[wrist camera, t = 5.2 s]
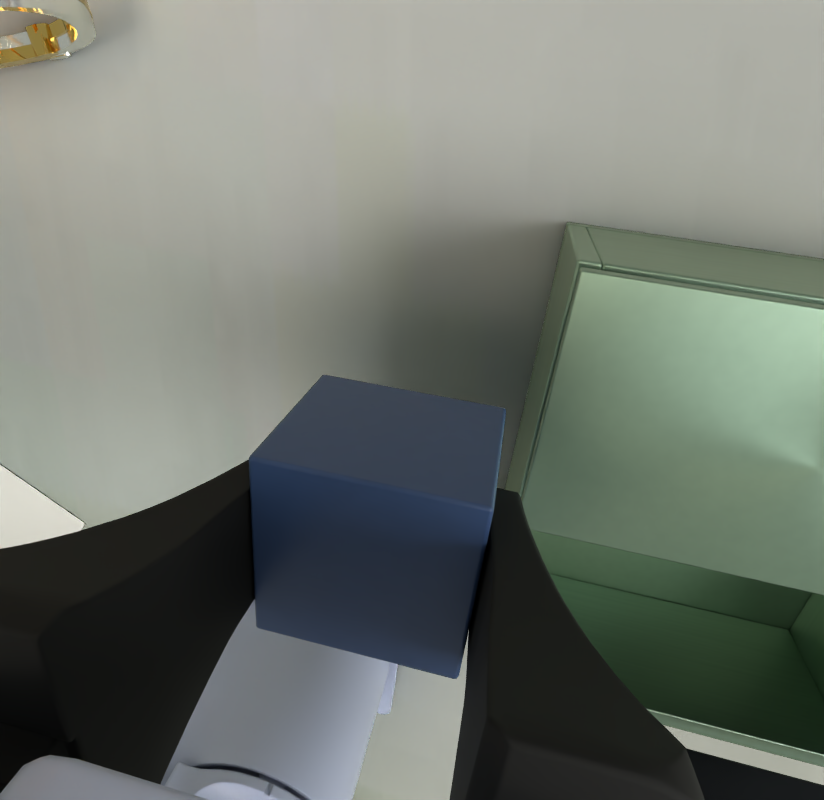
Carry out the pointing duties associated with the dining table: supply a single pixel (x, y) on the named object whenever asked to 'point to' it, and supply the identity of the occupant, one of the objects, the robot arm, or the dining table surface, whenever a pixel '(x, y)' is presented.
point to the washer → (686, 477)
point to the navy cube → (375, 521)
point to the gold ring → (47, 32)
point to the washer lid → (748, 781)
